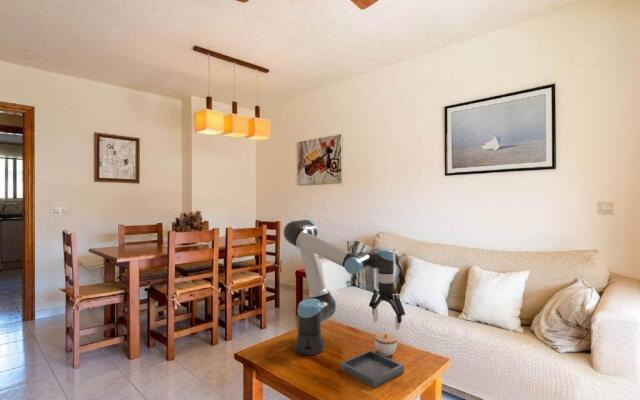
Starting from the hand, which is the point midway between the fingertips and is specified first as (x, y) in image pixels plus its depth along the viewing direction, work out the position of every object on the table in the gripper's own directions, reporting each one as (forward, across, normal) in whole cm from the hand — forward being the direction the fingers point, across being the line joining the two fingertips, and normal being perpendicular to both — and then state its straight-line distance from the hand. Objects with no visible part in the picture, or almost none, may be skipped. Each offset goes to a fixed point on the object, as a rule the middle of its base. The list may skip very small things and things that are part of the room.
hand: (386, 325), depth 169 cm
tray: (+14, -6, +18) cm, 24 cm away
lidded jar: (+14, 0, 0) cm, 14 cm away
